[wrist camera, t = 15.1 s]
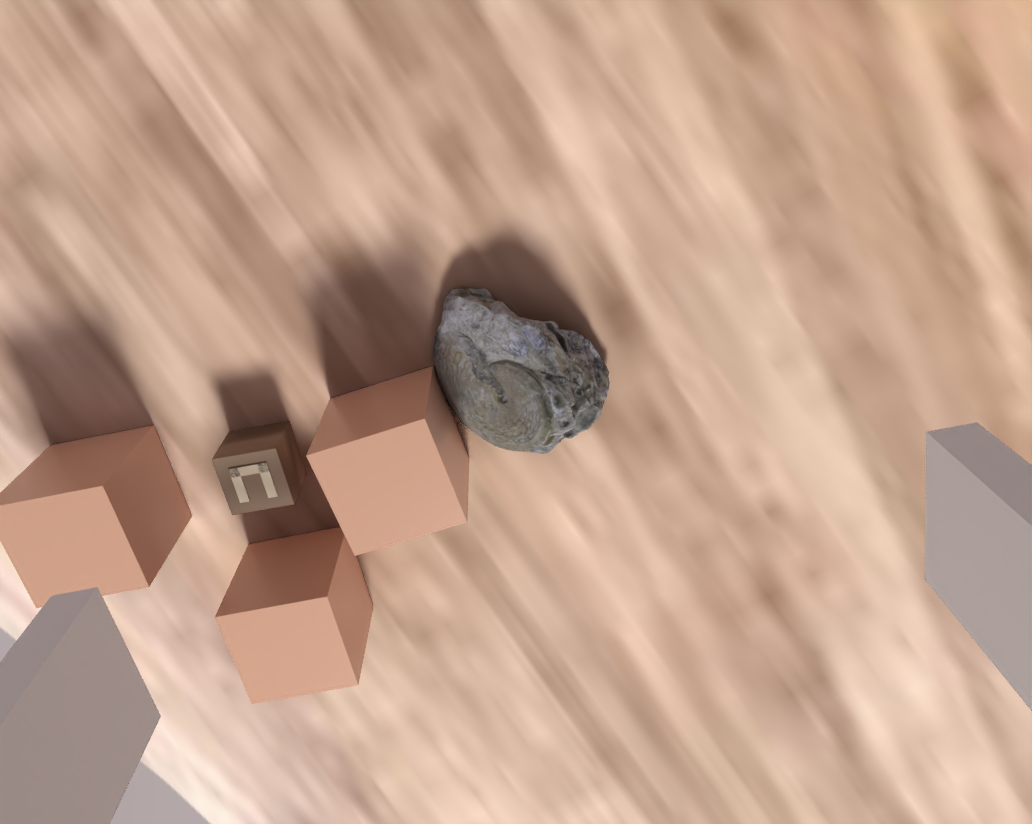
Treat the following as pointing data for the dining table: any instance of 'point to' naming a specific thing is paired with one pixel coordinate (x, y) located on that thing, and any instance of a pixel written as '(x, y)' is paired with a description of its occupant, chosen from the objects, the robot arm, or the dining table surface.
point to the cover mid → (297, 616)
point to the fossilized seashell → (516, 374)
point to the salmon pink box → (93, 515)
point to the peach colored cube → (392, 462)
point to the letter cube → (260, 468)
